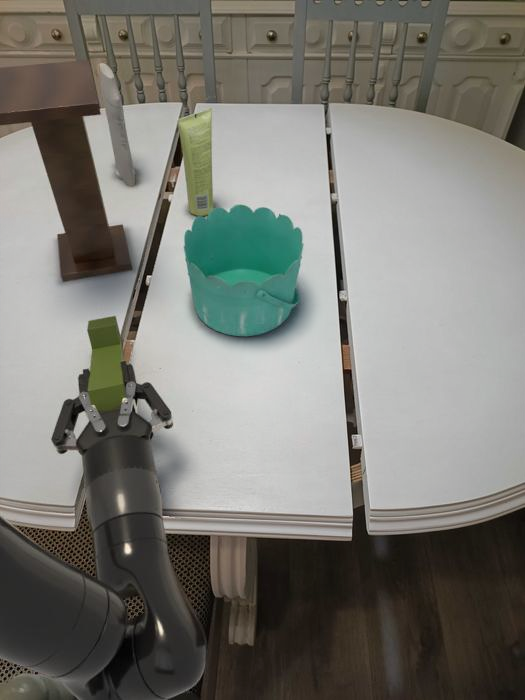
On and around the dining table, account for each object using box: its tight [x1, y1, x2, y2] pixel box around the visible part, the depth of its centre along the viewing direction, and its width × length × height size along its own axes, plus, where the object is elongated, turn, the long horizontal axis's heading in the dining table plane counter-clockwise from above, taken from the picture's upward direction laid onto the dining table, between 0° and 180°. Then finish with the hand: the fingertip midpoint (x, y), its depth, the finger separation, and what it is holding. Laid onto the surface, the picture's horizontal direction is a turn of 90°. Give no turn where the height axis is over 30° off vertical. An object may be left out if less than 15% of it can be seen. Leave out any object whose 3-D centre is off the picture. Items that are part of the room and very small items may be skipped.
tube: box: [177, 107, 214, 217], centre depth 100 cm, size 6×5×20 cm
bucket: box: [183, 204, 305, 337], centre depth 85 cm, size 19×18×13 cm
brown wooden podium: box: [0, 59, 133, 283], centre depth 83 cm, size 12×19×32 cm, turn 17°
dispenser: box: [99, 62, 137, 187], centre depth 107 cm, size 11×4×22 cm, turn 25°
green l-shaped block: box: [86, 315, 126, 412], centre depth 71 cm, size 4×21×6 cm, turn 17°
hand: (105, 369), depth 67 cm, fingers closed on green l-shaped block, 4 cm apart
